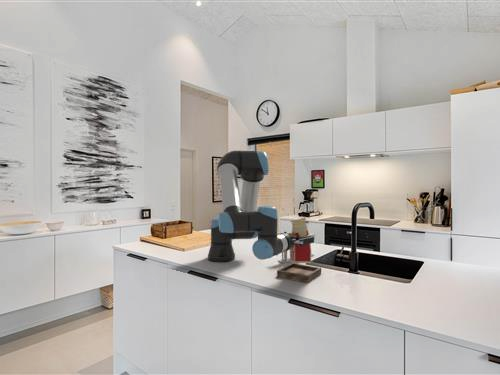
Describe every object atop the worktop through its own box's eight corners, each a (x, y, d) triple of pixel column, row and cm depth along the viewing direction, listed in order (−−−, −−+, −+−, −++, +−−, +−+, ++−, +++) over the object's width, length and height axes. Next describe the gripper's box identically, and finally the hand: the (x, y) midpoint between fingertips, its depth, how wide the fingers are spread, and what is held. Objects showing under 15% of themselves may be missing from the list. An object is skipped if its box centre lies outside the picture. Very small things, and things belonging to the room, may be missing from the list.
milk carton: (307, 258, 139) (307, 215, 139) (312, 263, 130) (312, 218, 130) (288, 258, 139) (288, 215, 139) (291, 263, 130) (291, 218, 129)
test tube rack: (283, 263, 154) (283, 238, 153) (277, 261, 157) (277, 237, 157) (314, 255, 170) (314, 233, 169) (308, 254, 173) (308, 232, 173)
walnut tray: (276, 276, 133) (277, 270, 133) (292, 268, 146) (292, 262, 145) (307, 283, 125) (307, 276, 125) (321, 273, 137) (321, 268, 137)
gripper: (257, 249, 126) (283, 240, 144) (305, 256, 113) (326, 246, 132) (257, 231, 126) (283, 225, 144) (305, 236, 113) (326, 229, 132)
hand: (303, 235), depth 138 cm, fingers closed on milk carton, 9 cm apart
